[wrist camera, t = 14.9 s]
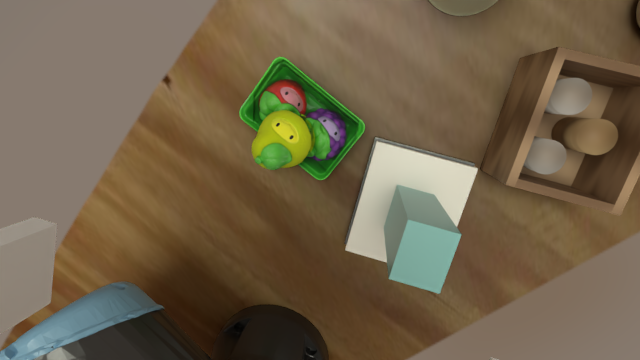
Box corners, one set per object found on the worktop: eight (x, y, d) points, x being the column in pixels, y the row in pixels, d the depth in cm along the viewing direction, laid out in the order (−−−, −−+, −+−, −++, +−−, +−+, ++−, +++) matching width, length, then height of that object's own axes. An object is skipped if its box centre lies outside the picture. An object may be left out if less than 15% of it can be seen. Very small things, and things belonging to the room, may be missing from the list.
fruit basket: (369, 122, 41) (369, 130, 30) (321, 182, 43) (304, 209, 33) (289, 58, 41) (260, 42, 30) (245, 121, 43) (202, 128, 32)
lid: (435, 268, 43) (465, 348, 29) (346, 243, 43) (335, 308, 30) (472, 165, 40) (526, 198, 26) (376, 139, 41) (379, 158, 27)
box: (571, 193, 40) (620, 215, 32) (479, 169, 41) (505, 184, 33) (620, 82, 37) (685, 77, 29) (520, 57, 38) (559, 46, 30)
